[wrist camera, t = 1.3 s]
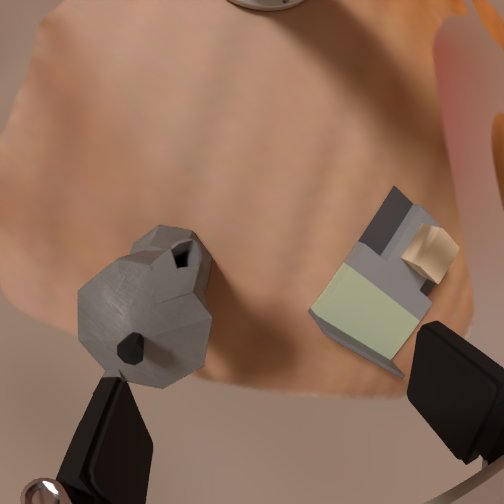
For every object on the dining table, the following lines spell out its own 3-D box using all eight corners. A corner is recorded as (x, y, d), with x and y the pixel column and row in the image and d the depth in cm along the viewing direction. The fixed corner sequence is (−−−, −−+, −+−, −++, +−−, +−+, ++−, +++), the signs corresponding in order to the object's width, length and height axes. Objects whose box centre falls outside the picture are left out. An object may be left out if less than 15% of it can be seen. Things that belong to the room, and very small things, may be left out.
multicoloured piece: (393, 186, 34) (423, 188, 28) (454, 249, 37) (482, 260, 31) (308, 311, 36) (324, 334, 30) (381, 355, 39) (402, 378, 33)
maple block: (422, 223, 33) (442, 228, 29) (439, 241, 34) (459, 248, 30) (400, 257, 34) (420, 266, 30) (419, 274, 34) (438, 284, 31)
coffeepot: (165, 190, 31) (108, 202, 13) (240, 239, 33) (271, 305, 16) (100, 306, 33) (28, 400, 15) (168, 347, 35) (144, 464, 17)
